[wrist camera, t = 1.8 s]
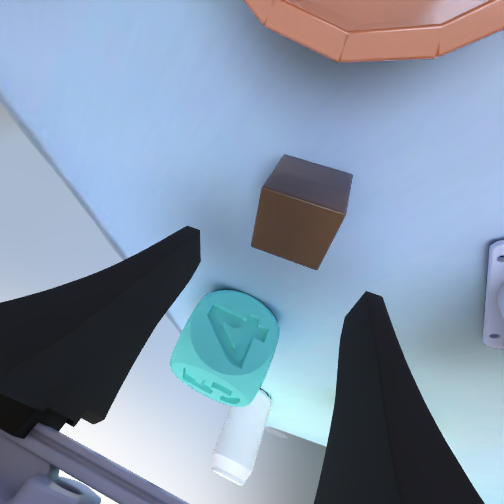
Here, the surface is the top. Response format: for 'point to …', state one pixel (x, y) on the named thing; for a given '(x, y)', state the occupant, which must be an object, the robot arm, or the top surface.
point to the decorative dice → (226, 347)
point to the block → (301, 211)
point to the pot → (381, 26)
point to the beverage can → (241, 439)
